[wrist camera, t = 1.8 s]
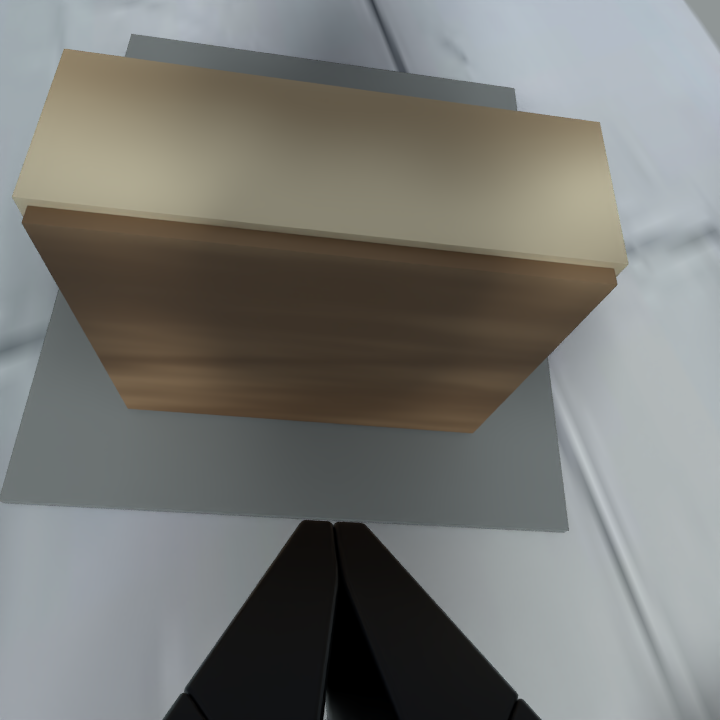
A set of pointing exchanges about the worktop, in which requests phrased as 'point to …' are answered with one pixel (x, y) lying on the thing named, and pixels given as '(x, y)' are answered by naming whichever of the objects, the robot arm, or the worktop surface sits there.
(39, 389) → the rubber mat
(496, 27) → the worktop surface
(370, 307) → the maple slab
